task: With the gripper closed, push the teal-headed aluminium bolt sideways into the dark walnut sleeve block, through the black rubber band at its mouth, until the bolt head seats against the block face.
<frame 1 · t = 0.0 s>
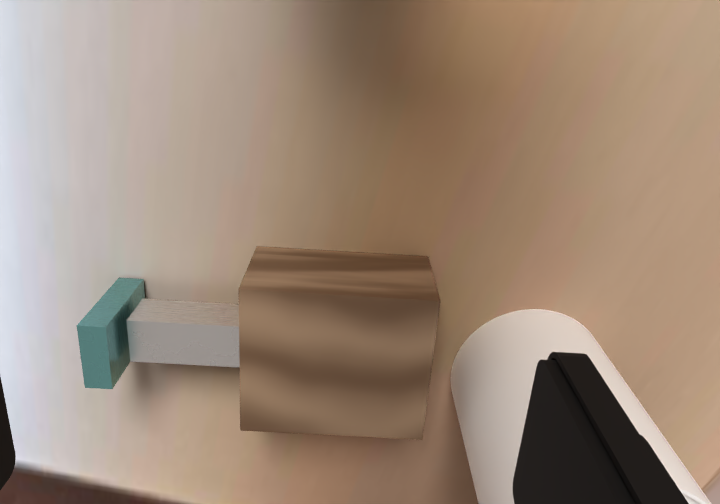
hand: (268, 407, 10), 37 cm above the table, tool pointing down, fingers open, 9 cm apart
peg: (193, 334, 47), point 4 cm above the table, slide at 9.0 cm
canister: (525, 375, 54), on the table
sleeve block: (339, 316, 51), on the table
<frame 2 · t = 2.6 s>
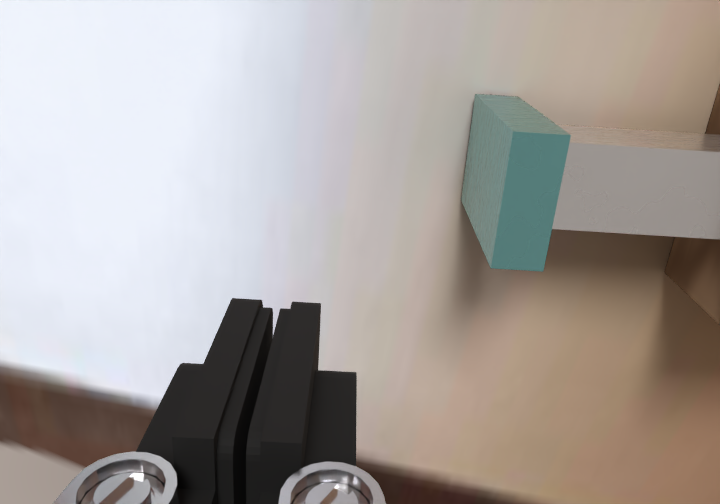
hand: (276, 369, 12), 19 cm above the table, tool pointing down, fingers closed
peg: (648, 182, 25), point 4 cm above the table, slide at 9.0 cm
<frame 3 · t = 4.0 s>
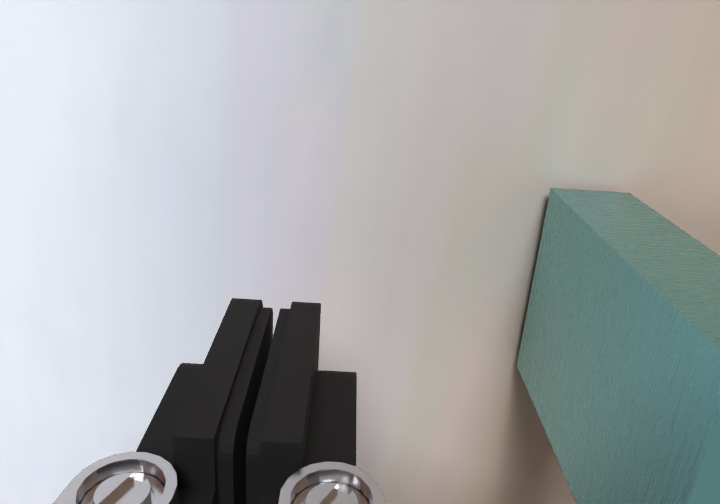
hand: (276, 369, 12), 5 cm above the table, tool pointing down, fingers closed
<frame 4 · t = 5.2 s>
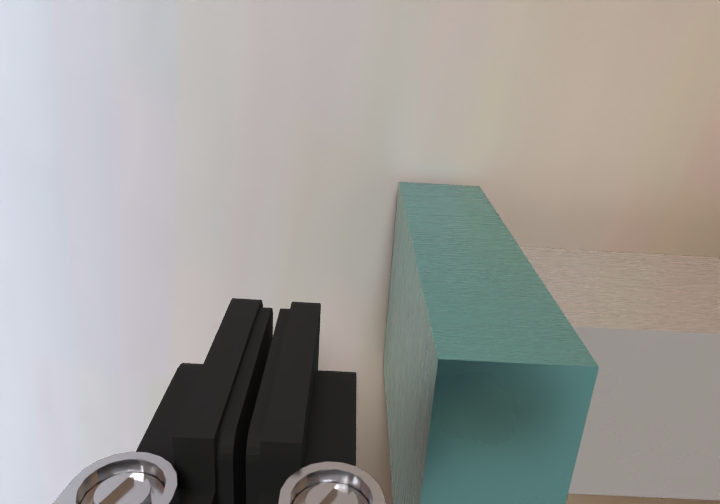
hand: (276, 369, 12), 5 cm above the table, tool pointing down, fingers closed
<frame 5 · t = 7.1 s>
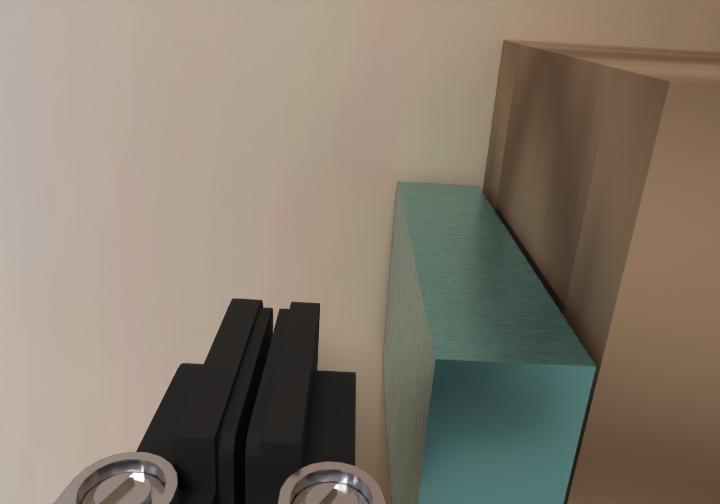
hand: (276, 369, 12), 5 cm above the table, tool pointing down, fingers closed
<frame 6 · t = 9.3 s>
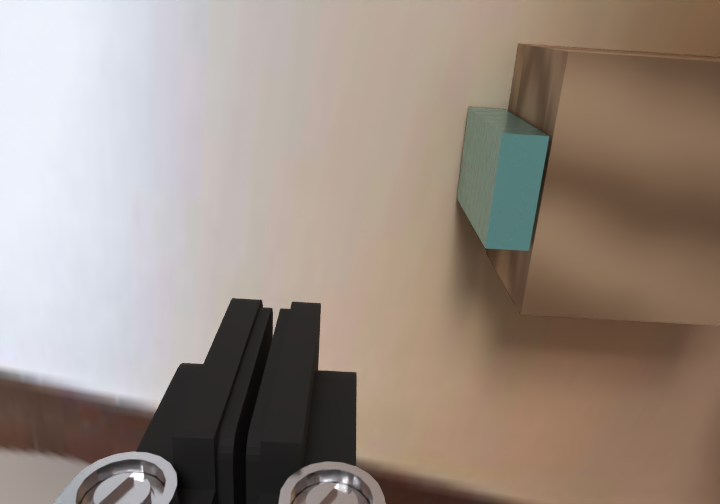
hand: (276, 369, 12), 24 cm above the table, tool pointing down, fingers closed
peg: (615, 179, 30), point 4 cm above the table, slide at 0.0 cm
sleeve block: (622, 162, 34), on the table
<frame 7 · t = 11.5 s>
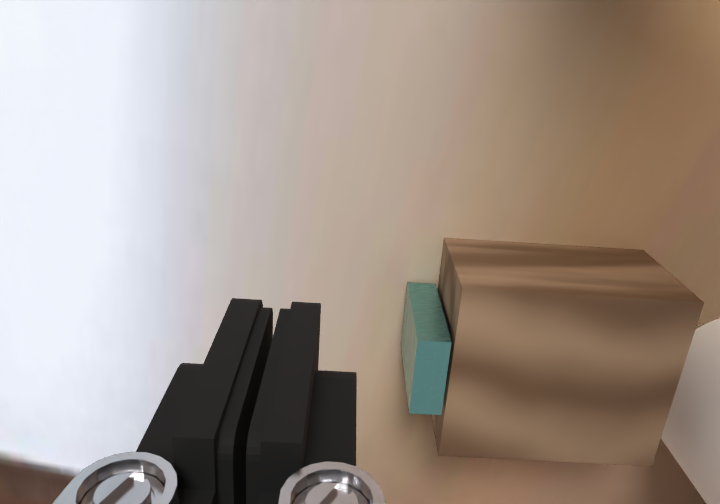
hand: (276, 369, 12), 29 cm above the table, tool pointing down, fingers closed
peg: (513, 349, 40), point 4 cm above the table, slide at 0.0 cm
sleeve block: (529, 319, 44), on the table
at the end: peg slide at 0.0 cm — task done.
